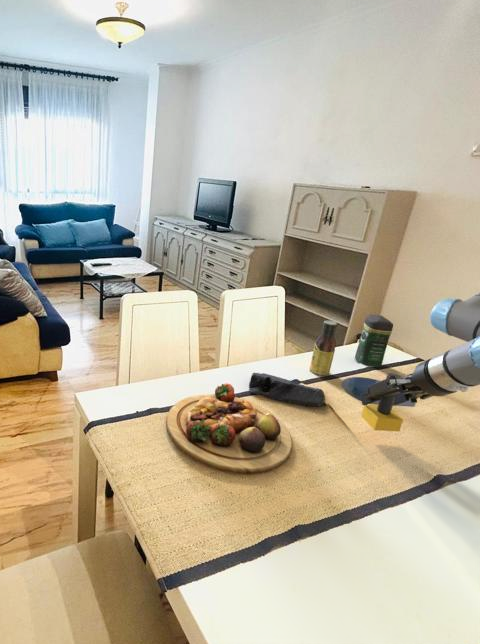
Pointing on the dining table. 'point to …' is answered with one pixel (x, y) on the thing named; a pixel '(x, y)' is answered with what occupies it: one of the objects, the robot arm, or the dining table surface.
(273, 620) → the dining table surface
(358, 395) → the plate
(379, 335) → the coffee jar
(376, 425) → the sponge wand
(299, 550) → the dining table surface
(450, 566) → the dining table surface
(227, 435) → the wooden plate
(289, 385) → the dark folded cloth
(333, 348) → the sauce bottle
